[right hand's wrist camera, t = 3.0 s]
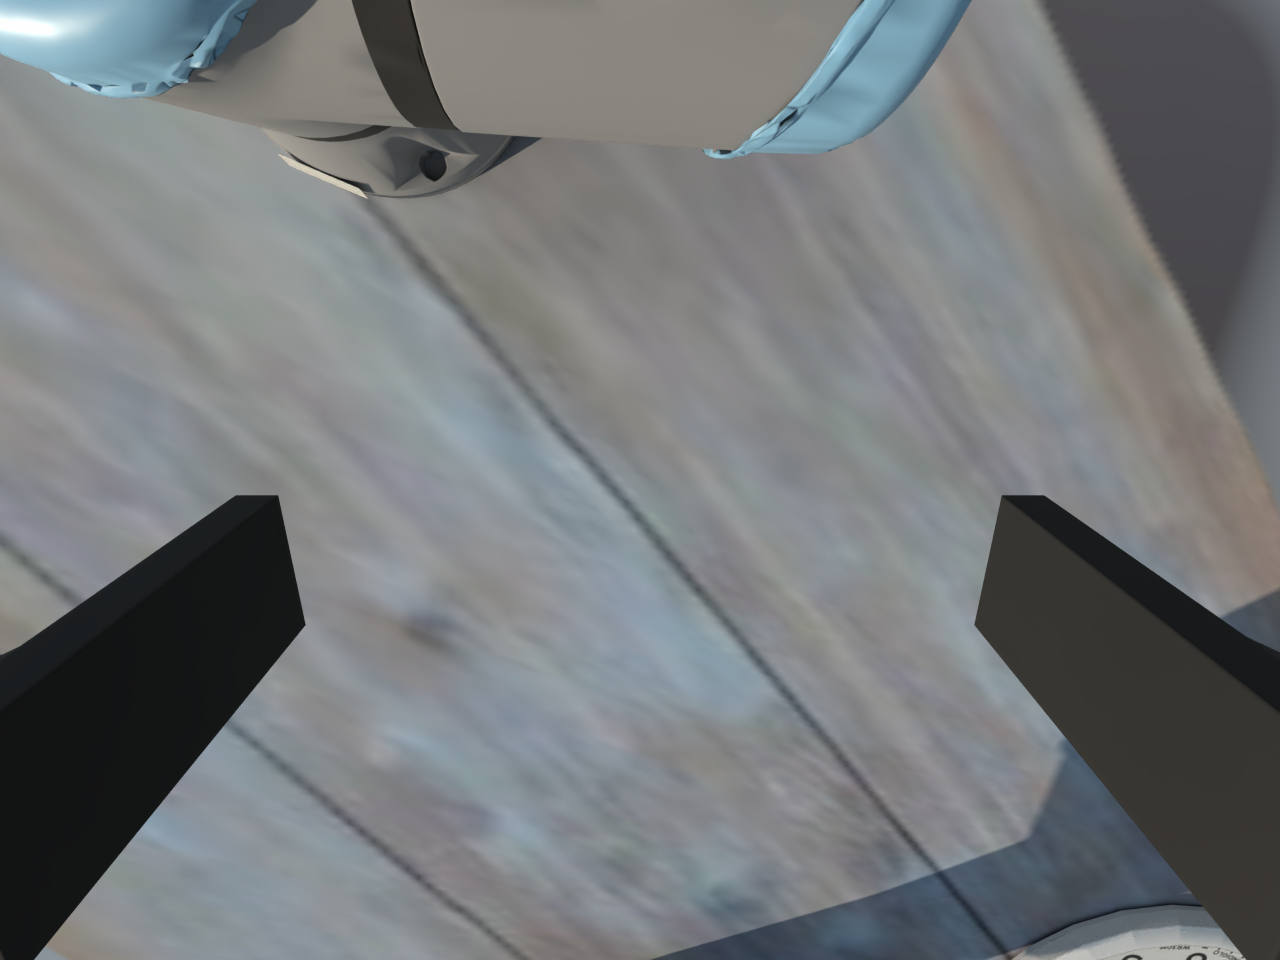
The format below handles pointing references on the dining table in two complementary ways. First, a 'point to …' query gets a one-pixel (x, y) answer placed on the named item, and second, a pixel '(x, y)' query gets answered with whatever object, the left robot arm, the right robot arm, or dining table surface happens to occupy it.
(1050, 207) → the dining table surface
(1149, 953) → the wall clock
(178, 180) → the dining table surface
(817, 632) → the dining table surface
